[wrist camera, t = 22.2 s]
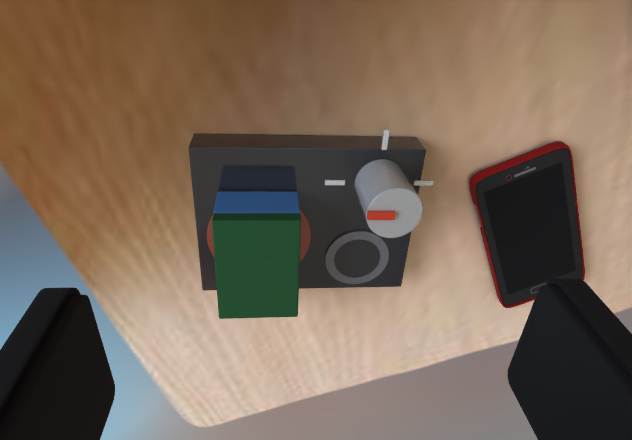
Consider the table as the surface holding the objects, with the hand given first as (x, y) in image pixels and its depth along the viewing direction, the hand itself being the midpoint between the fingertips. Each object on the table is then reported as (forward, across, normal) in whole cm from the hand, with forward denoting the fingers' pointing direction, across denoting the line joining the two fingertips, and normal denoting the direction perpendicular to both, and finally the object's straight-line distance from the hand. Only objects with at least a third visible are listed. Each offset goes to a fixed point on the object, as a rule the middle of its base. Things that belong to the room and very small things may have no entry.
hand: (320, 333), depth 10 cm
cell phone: (+24, -20, +13) cm, 34 cm away
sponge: (+21, +2, +12) cm, 24 cm away
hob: (+24, -1, +11) cm, 26 cm away
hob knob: (+21, -6, +7) cm, 23 cm away
